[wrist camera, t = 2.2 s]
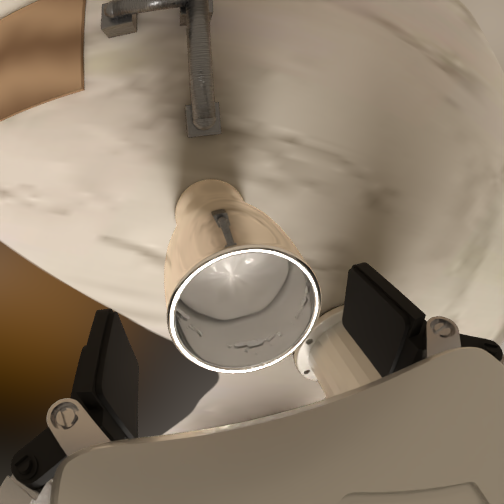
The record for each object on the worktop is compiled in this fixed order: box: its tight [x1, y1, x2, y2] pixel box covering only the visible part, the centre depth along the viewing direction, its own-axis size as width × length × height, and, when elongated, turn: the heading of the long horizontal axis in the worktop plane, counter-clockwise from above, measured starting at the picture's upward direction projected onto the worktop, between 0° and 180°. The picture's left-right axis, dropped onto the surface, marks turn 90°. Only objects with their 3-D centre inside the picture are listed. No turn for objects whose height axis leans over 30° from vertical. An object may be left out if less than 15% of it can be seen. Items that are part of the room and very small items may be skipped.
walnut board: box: [0, 0, 86, 121], centre depth 14 cm, size 11×11×1 cm
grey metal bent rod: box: [101, 0, 221, 137], centre depth 17 cm, size 12×8×4 cm
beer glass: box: [164, 179, 322, 373], centre depth 18 cm, size 7×7×15 cm
